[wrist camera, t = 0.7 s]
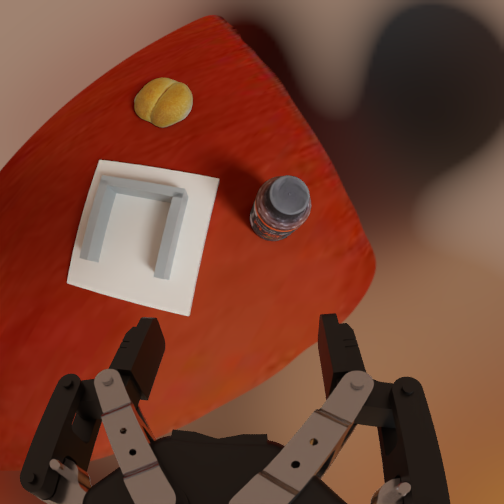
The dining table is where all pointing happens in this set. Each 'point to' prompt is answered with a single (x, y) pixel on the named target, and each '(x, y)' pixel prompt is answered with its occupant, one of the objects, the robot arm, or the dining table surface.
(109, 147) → the dining table surface
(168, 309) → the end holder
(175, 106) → the bread roll
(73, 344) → the dining table surface
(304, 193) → the supplement bottle
